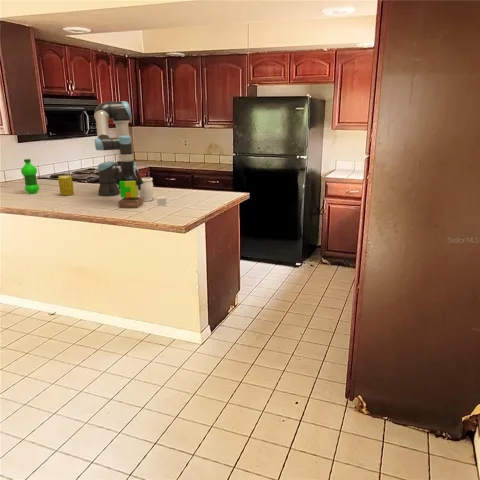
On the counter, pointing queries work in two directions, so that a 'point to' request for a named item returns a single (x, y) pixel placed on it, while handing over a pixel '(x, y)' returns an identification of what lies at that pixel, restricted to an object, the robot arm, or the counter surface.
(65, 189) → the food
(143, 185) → the jar
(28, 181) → the plastic bottle
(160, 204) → the beige wooden block
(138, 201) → the walnut block
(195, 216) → the counter surface
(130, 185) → the puzzle toy
